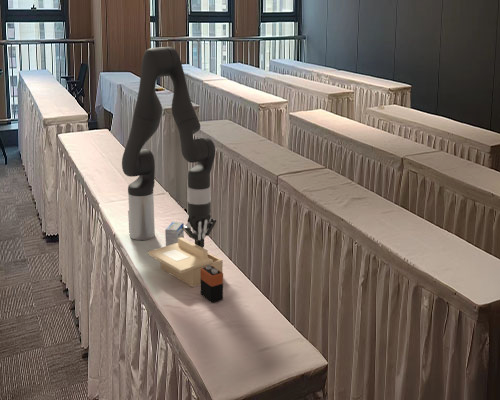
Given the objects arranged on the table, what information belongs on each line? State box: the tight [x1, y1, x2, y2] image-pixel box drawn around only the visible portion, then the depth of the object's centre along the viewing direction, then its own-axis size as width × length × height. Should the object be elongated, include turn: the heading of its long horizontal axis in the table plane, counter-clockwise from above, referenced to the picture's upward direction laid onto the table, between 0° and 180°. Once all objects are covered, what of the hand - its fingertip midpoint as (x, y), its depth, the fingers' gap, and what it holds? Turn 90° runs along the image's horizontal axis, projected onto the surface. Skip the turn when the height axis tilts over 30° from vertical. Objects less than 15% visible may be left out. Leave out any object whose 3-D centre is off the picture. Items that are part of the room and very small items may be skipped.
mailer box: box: [160, 252, 224, 288], centre depth 208 cm, size 18×12×6 cm, turn 42°
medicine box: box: [164, 221, 185, 246], centre depth 226 cm, size 8×4×9 cm, turn 168°
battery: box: [200, 265, 224, 304], centre depth 191 cm, size 4×7×10 cm, turn 35°
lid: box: [147, 237, 213, 273], centre depth 203 cm, size 18×12×4 cm
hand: (199, 248), depth 208 cm, fingers closed
